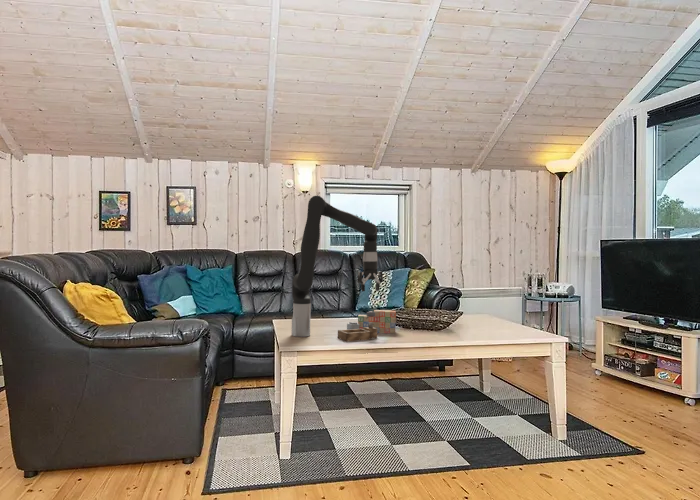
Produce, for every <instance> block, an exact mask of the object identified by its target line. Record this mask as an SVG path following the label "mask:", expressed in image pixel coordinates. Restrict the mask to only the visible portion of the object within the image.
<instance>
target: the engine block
mask: <svg viewBox="0 0 700 500" xmlns="http://www.w3.org/2000/svg"><path fill="white" fill-rule="evenodd" d="M350 329H359V324H358V321H357V322H356V321H349V322H347V324H346V330H350Z"/></svg>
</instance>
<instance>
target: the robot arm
mask: <svg viewBox="0 0 700 500" xmlns="http://www.w3.org/2000/svg"><path fill="white" fill-rule="evenodd" d="M322 216H323V217H327V218H328V219H329V218H330V219H332V220H333V221H336V222H339V223H340V224H342V225H344V226H346V227H348V228H350V229H352V230H355V231H357V232H359V233H361V234H363V235H364V242H363V258H362V264H363V265H362V268H363V270H362V271H357V280H356V281H357V284H360V290H361V292H365V291H366V282H367V281H368V280H369V281H370V280H373V281H374V283H375V291H376V292H379V290H380V289H381V288H380V287H381V286H380V284H382V283H383V282H384V276H383V271H382V270H381V271H380V270H379V271H378V250H377V249H378V248H377V247H378V243H377V241H378V227H377V225H376V224H374V223H372V222H371V221H370V222H369V221H367V220H364V219H362V218H361V217H359V216H357V215H355V214H353V213H351V212H348V211H345V210H341V209H339V208H337V207H335V206H333V205H331V204H329V202H327V201H326V200H325V199H324V198H323V197H322V196H320V195H313V196H312V197H310V199H309V200H308V203H307V215H306V222H305V225H304V230H303V234H302V240H301V245H300V259H301V260H300V268H299V272H298V273H296V274H295V275H294V276H293V279H292V282H291V283H292V284H291V285H292V288H291V289H292V290H291V292H292V300H293V301H292V302H293V303H292V304H293V307H292V310H293V311H292V315H293V316H291V336H293V337H295V338H296V337H298V338H301V337H302V338H303V337H310V336H311V311H312V310H311V306H312V305H311V304H312V303H311V302H312V300H311V296H310V289H311V288H312V286H313V282H314V271H315V270H314V269H315V265H316V264H315V263H316V260H317V256H318V250H319V245H320V239H321V218H322Z"/></svg>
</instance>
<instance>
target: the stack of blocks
mask: <svg viewBox="0 0 700 500" xmlns="http://www.w3.org/2000/svg"><path fill="white" fill-rule="evenodd" d="M396 311H397V310H390V309H380V310H379V309H374V310H373V312H375V317H368V316H367V314H358V316H357V324H359V329H364V328H365V327H369V322H373V327H374V328H377V334H396V329H397V328H396V325H397V324H396V323H397V312H396Z"/></svg>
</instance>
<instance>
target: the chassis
mask: <svg viewBox="0 0 700 500" xmlns="http://www.w3.org/2000/svg"><path fill="white" fill-rule="evenodd" d="M337 338H338V339H340V340H342V341H345V342H356V341H367V340H372V339H377V338H378V333H377V328H374V327H373V322H369V327H365V328H364V329H350V330H347V329H338V330H337Z"/></svg>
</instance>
